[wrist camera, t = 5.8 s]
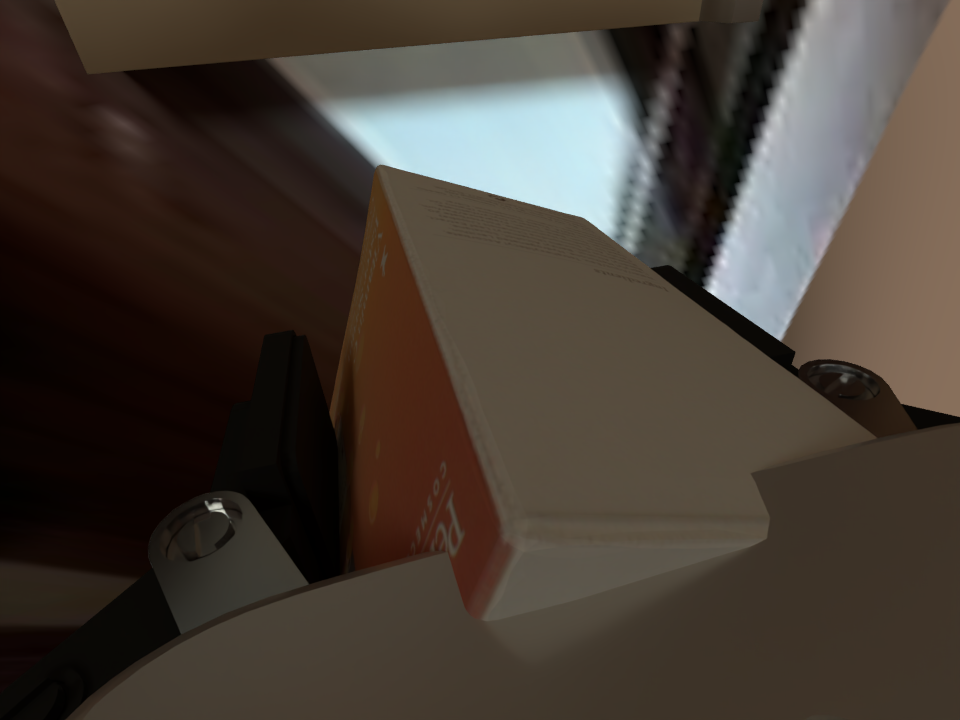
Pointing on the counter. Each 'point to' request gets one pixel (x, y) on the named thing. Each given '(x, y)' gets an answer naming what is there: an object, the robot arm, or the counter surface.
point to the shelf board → (343, 25)
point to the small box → (546, 405)
